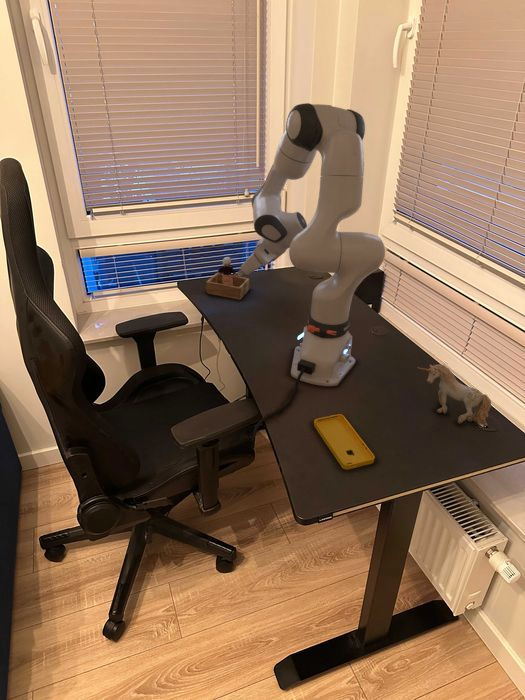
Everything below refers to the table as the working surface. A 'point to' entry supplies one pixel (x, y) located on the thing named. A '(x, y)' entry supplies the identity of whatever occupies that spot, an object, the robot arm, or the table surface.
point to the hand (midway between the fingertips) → (243, 269)
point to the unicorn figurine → (459, 395)
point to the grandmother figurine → (227, 272)
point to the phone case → (344, 441)
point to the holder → (227, 287)
